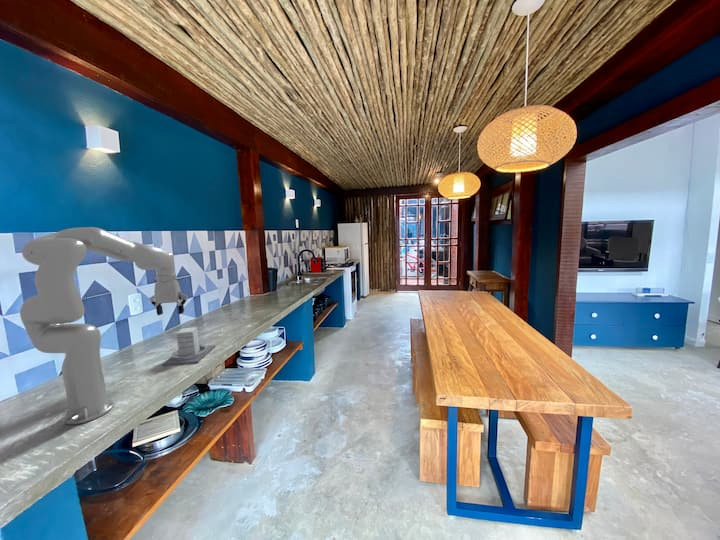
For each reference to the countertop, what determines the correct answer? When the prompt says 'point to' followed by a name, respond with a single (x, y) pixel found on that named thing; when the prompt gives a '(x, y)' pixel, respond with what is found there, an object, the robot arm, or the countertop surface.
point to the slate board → (190, 361)
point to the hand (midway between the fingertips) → (170, 313)
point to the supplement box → (188, 341)
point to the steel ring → (190, 355)
